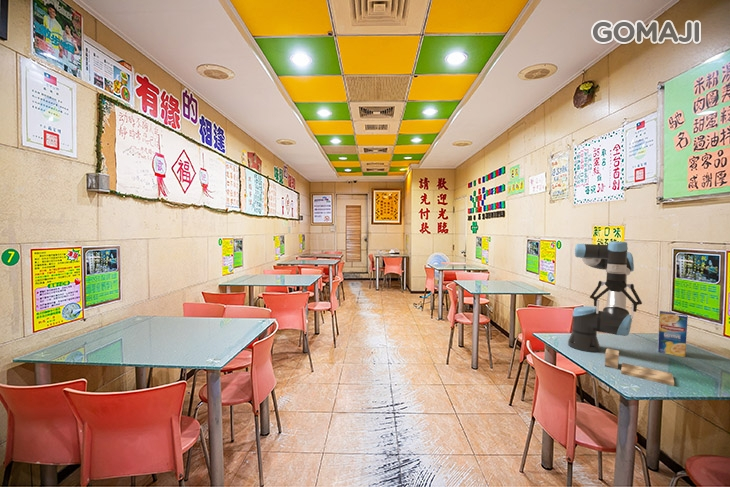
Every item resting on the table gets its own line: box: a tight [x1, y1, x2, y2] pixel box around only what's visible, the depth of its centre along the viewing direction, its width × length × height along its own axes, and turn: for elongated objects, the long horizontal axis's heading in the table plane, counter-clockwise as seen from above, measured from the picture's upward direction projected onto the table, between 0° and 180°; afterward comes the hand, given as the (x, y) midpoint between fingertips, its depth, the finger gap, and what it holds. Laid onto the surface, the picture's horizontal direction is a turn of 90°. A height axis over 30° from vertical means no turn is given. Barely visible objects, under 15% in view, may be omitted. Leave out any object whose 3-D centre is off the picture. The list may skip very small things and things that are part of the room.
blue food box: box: [657, 310, 688, 358], centre depth 179 cm, size 7×11×22 cm, turn 49°
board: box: [620, 362, 675, 387], centre depth 150 cm, size 18×12×2 cm, turn 50°
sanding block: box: [604, 348, 620, 370], centre depth 161 cm, size 5×8×7 cm, turn 140°
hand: (614, 315), depth 160 cm, fingers open, 13 cm apart
